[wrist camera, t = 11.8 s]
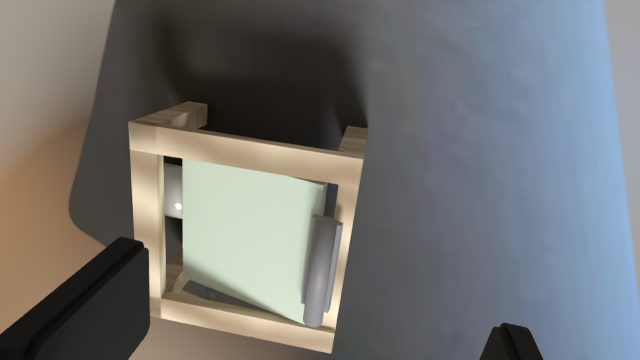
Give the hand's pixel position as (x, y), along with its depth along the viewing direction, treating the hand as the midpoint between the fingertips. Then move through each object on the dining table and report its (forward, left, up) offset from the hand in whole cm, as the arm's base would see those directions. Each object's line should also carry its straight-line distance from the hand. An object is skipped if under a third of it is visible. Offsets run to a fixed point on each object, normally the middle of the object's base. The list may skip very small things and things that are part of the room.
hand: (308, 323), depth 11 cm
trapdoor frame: (+10, -8, -29) cm, 32 cm away
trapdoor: (+10, -7, -21) cm, 25 cm away
